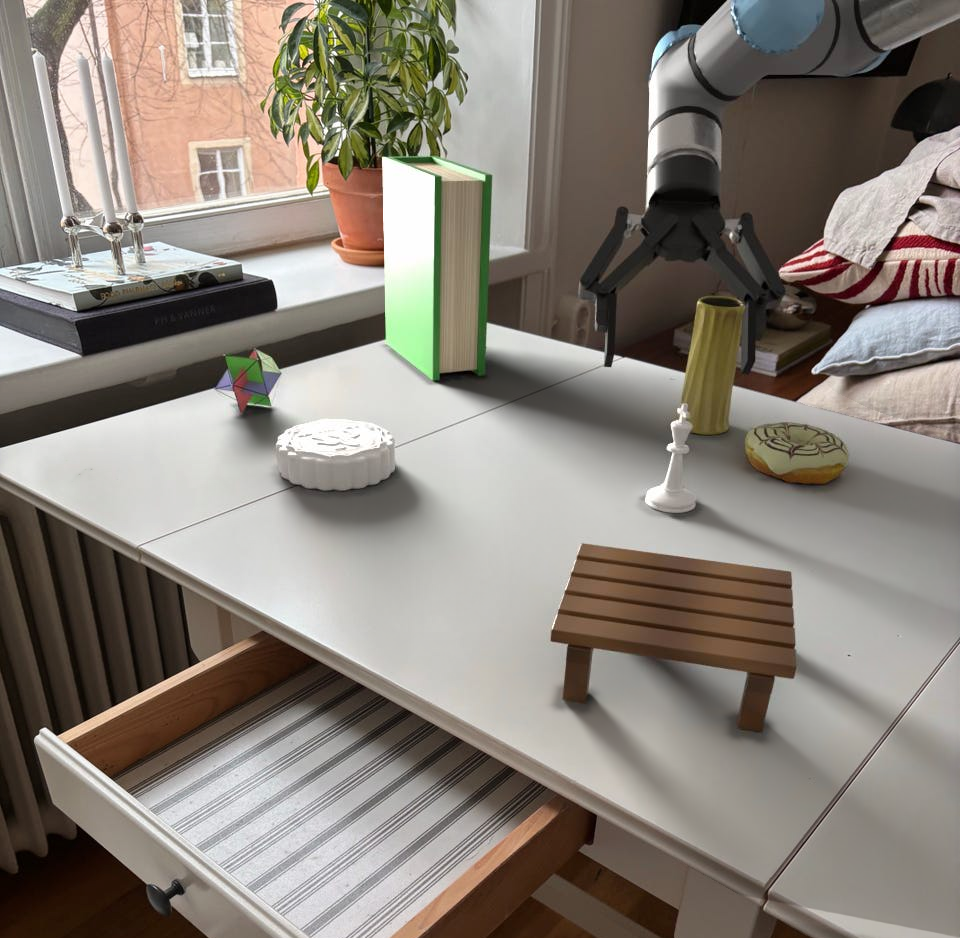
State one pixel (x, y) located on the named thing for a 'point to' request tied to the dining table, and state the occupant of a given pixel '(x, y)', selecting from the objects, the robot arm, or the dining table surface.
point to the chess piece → (674, 472)
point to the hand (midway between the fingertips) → (678, 364)
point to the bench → (679, 618)
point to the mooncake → (335, 454)
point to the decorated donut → (796, 452)
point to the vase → (712, 363)
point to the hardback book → (436, 262)
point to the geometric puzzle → (249, 379)
